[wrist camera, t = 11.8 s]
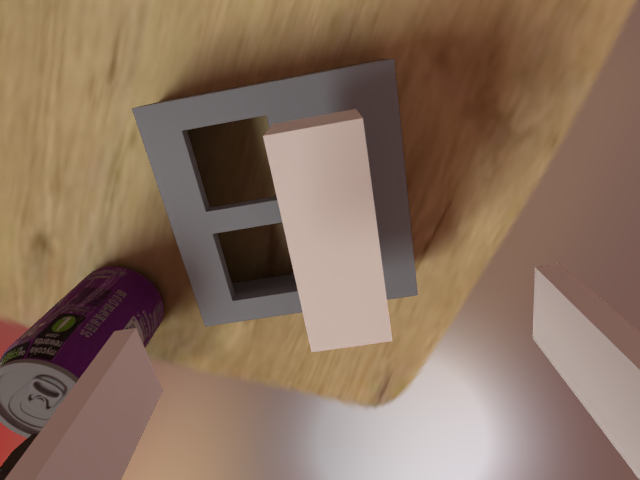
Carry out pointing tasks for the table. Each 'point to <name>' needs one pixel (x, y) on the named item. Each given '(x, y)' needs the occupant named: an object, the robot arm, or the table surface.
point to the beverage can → (72, 343)
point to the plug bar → (331, 227)
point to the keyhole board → (205, 222)
